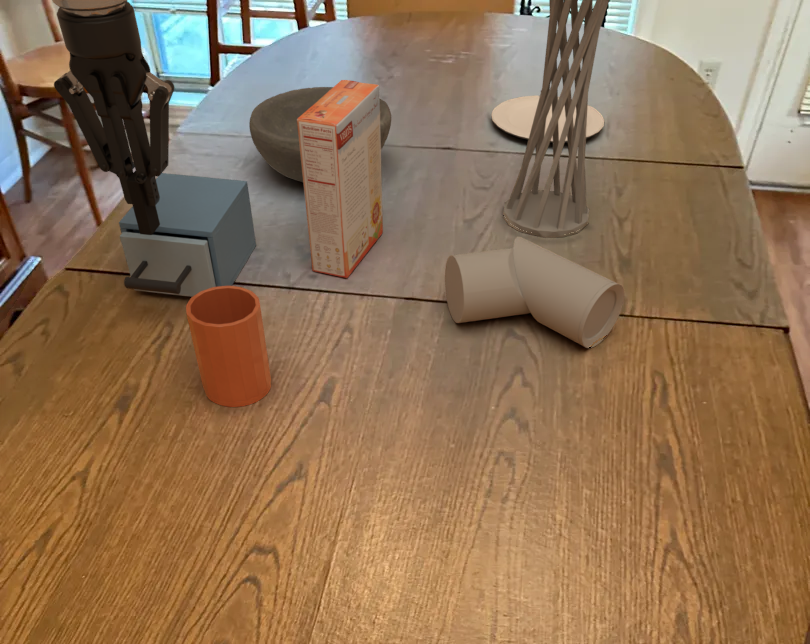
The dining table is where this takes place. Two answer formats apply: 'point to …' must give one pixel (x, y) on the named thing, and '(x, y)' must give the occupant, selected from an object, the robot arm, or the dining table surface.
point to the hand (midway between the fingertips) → (150, 229)
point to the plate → (521, 113)
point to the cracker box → (342, 176)
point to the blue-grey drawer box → (206, 218)
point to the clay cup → (229, 345)
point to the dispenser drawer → (168, 263)
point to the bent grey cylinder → (533, 290)
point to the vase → (545, 207)
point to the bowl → (292, 128)
